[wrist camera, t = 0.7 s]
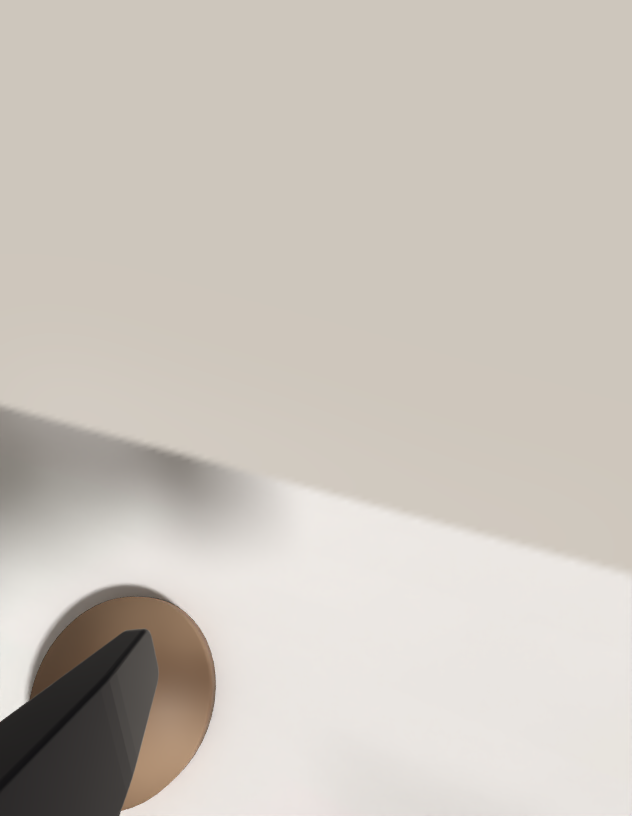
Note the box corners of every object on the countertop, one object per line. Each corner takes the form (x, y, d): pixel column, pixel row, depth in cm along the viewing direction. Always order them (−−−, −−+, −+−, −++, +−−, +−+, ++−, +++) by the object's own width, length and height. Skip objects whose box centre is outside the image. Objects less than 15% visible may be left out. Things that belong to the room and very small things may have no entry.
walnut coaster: (233, 764, 20) (228, 772, 19) (49, 832, 19) (33, 843, 18) (195, 574, 23) (189, 573, 22) (36, 628, 22) (22, 629, 21)
